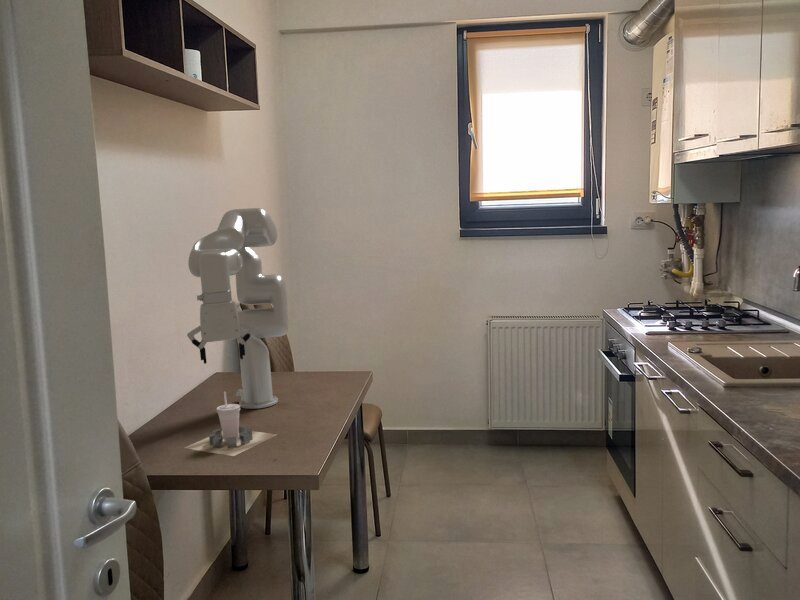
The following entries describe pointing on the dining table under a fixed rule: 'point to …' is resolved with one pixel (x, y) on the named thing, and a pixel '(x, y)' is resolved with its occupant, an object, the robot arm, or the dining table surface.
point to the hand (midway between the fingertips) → (223, 360)
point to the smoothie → (229, 419)
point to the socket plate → (205, 446)
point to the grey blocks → (231, 442)
